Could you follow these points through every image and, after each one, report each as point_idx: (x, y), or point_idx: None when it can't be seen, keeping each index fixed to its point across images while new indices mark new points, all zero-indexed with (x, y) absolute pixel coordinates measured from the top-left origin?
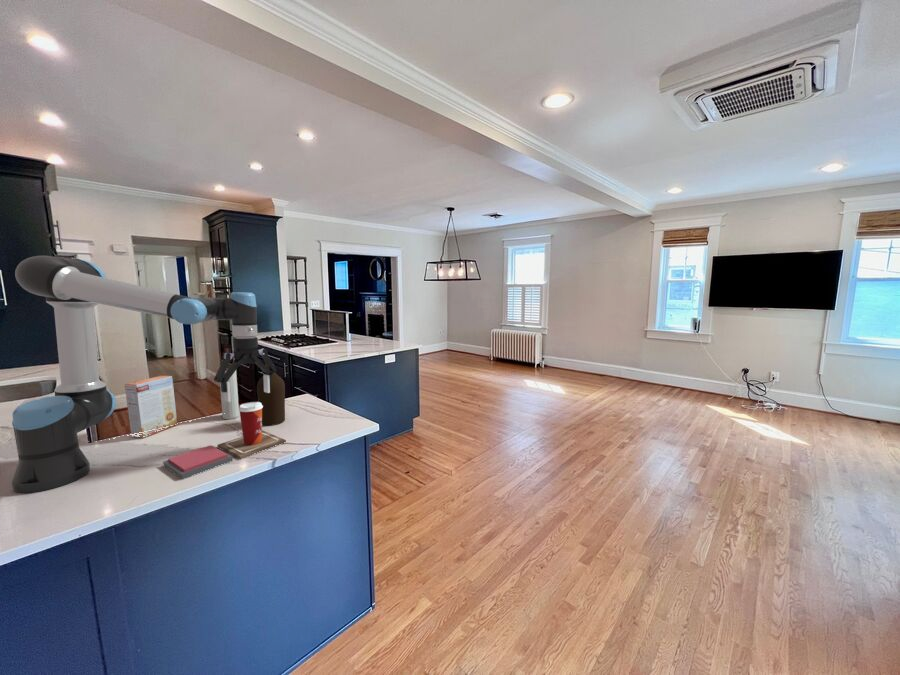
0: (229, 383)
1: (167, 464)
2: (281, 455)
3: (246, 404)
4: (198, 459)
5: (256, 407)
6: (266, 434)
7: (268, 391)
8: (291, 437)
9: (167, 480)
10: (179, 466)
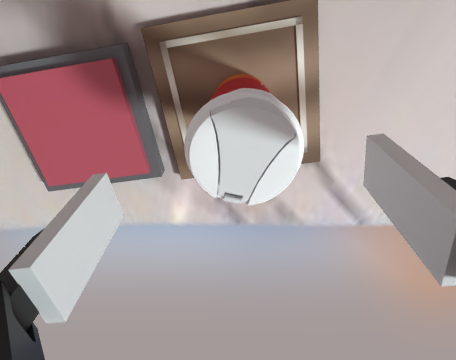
0: (66, 315)
1: (2, 102)
2: (266, 221)
3: (229, 138)
4: (78, 152)
5: (254, 202)
6: (303, 68)
7: (372, 190)
8: (353, 131)
9: (24, 166)
10: (35, 159)
